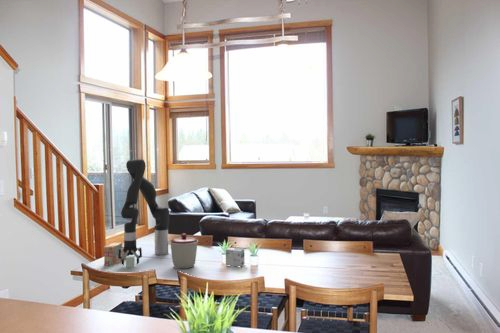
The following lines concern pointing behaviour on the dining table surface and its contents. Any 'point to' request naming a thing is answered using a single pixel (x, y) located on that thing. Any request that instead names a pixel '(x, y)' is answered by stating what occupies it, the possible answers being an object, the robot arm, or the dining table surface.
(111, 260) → the stack of blocks
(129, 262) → the sage block
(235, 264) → the light bulb box
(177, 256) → the canister
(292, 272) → the dining table surface
